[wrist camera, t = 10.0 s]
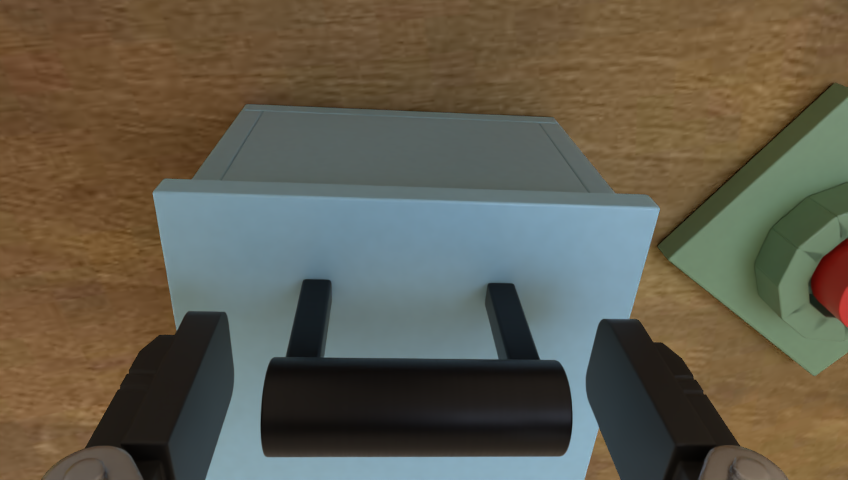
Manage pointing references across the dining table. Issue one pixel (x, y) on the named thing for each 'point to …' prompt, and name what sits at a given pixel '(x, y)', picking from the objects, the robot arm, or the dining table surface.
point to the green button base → (778, 234)
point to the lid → (404, 323)
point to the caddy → (400, 150)
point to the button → (833, 282)
